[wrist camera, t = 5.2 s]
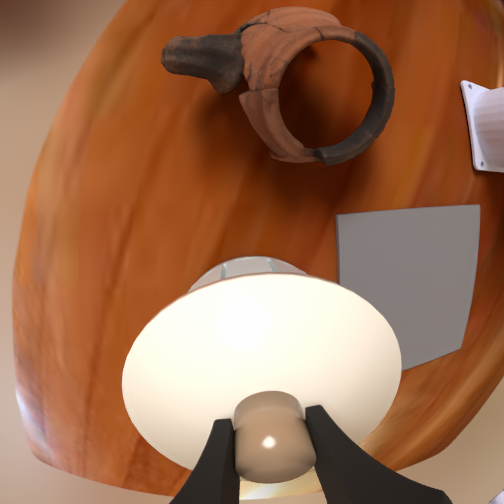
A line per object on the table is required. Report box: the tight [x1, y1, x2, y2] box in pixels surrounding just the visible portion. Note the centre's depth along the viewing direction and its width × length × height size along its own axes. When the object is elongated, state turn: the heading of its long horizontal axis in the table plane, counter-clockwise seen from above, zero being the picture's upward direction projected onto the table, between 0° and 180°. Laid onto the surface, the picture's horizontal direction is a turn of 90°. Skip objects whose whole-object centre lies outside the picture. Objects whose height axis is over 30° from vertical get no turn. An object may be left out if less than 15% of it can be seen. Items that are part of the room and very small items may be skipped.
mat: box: [335, 205, 480, 371], centre depth 19 cm, size 14×14×1 cm
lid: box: [122, 272, 402, 483], centre depth 10 cm, size 13×13×4 cm
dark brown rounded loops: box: [161, 7, 395, 166], centre depth 13 cm, size 12×10×8 cm
